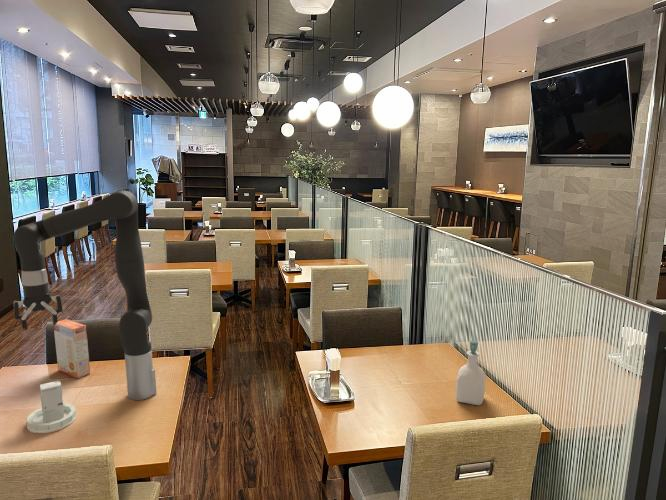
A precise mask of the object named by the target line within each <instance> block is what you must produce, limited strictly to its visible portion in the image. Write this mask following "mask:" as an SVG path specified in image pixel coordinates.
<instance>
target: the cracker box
mask: <svg viewBox="0 0 666 500" xmlns="http://www.w3.org/2000/svg"><path fill="white" fill-rule="evenodd" d="M53 332H54V342H55V351H56V362H57V363H56V364H57V370H58V371H59V372H61V373H63V374H66V375H68V376H70V377H73V378H75V379H80V378H82V377H85V376H87V375H90V374H91V368H90V354H89V347H88V346H89V345H88V335H87V325H86V324H82V323H80V322H78V321H73V320H71V319H68V318H66V319H62V320H59V321H58V322H57V323H56V325H53Z"/></svg>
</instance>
